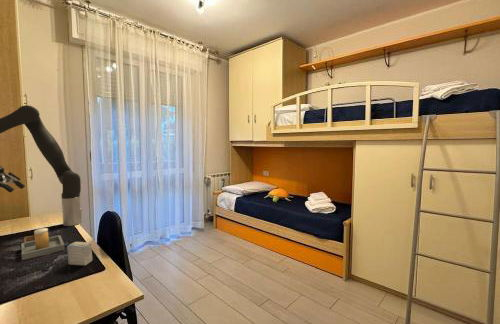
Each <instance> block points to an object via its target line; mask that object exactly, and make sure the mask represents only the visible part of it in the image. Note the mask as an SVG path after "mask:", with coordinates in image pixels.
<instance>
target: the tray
mask: <svg viewBox="0 0 500 324" xmlns="http://www.w3.org/2000/svg"><path fill="white" fill-rule="evenodd" d="M48 237H49V247H48V248H43V249H39V250H36V247H35V241H34V240H29V241H30V242H29V241H26V242H25V243H24V242H21V246H20V247H21V260H22V261H24V260H25V261H26V260H29V259H33V258H37V257H41V256H46V255H49V254H53V253H56V252H62V251H65V244H64V241H63V240H64V239H62V236H61V235H59V234H58V235H53V236H48Z"/></svg>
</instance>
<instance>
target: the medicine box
mask: <svg viewBox="0 0 500 324" xmlns="http://www.w3.org/2000/svg"><path fill="white" fill-rule="evenodd" d="M66 248H67V261H68V265H72V266H73V265H74V266H87V265H89V264H90V263H91V262H92V261H93V250H92V242H87V241H86V242H85V241H74V242H72V243H70V244H68V245H67V247H66Z"/></svg>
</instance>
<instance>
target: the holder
mask: <svg viewBox="0 0 500 324" xmlns="http://www.w3.org/2000/svg"><path fill="white" fill-rule="evenodd" d="M30 241H35V235H34V234H33V235H29V236H24V237H23V243H25V242H30Z"/></svg>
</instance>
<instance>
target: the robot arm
mask: <svg viewBox="0 0 500 324" xmlns="http://www.w3.org/2000/svg"><path fill="white" fill-rule="evenodd" d="M21 125H22V126H23V125H24V126H25V127H26V128H27V130H28V131H29V132H30V135H31V136H32V139H33V140H34V143H35V145H36V147H37V148H38V150H39V152H40V153H41V154H42V156H43V158H44V159H45V160H46V162H47V163H48V164H49V165H50V166H51V168H52V169H53V171H54V172H55V175H56V176H57V179H58V181H59V183H60V184H61V186H62V192H61V194H60V195H61V207H62V208H61V211H62V212H61V213H62V225H63V226H65V227H71V226H78V225H79V224H82V223H83V218H82V215H83V214H82V208H81V191H82V190H81V187H82V186H81V176H80V174H78V173H77V172H74V171H73V170H72V169H71V168H70V166H69V165H68V164H67V161H66V159H65V156H64V152H63V150H62V148H61V146H60V144H58V142H57V140H56V139H55V137H54V136H53V135H52V134H51V133H50V131H49V130H48V129H47V128H46V127H45V125H44V123H43V121H42V119H41V117H40V111H39V110H38V109H37V108H36V107H34V106H33V105H32V106H31V105H28V104H27V105H21V106H19V107H18V108H17V109H15V110H14V111H12V112H11V113H9V114H8V115H5V116H2V117H0V134H2V133H3V134H4V133H5V132H7V131H9V130H11V129H13V128H15V127H18V126H21ZM9 184H12V185H15V186H16V187H18V188H19V189H21V190H22V189H24V188H26V185H25V184H23V183H22V182H21V178H20V177H18V176H17V175H15V174H14V173H12V172H11V171H9V172H8V173H7V172H5V168H4V167H3V166H2V165H0V188H1V189H4V190H6V191H7V192H9V193H12V192H14V190H15V188H13V187H12V186H11V185H9Z"/></svg>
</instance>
